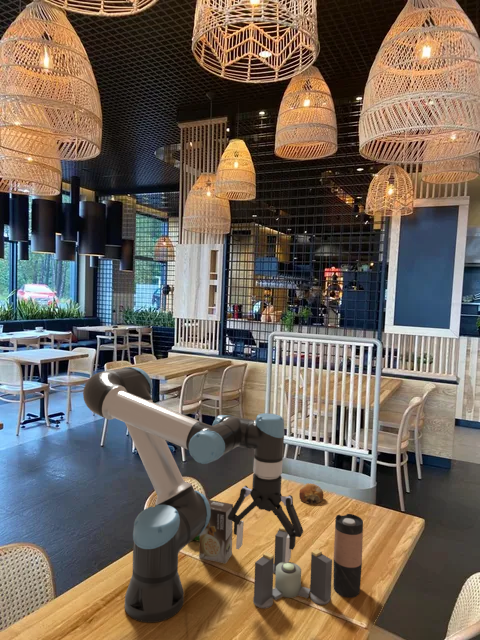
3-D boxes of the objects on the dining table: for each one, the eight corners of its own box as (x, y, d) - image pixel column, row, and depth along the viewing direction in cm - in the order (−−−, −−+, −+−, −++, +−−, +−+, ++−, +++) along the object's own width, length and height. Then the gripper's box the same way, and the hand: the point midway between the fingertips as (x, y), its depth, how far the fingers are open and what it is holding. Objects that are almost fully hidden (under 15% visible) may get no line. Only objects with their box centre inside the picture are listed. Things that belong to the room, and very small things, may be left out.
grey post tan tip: (334, 599, 119) (335, 556, 118) (320, 607, 116) (322, 562, 115) (319, 589, 123) (320, 547, 123) (306, 596, 120) (307, 553, 119)
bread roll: (324, 508, 183) (328, 488, 185) (316, 505, 175) (320, 484, 177) (302, 502, 188) (306, 482, 191) (293, 499, 180) (298, 479, 183)
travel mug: (355, 602, 118) (358, 529, 118) (328, 592, 122) (331, 521, 122) (364, 588, 125) (366, 517, 124) (337, 578, 129) (340, 510, 128)
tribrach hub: (274, 605, 116) (274, 580, 116) (259, 580, 127) (260, 557, 126) (313, 598, 120) (314, 573, 119) (296, 574, 130) (297, 551, 130)
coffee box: (232, 554, 140) (234, 503, 139) (225, 564, 134) (227, 512, 133) (206, 547, 143) (207, 498, 143) (197, 558, 137) (199, 506, 137)
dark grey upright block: (265, 611, 113) (267, 565, 113) (249, 602, 117) (250, 558, 116) (276, 601, 117) (278, 556, 117) (260, 592, 121) (262, 549, 120)
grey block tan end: (286, 577, 128) (287, 536, 128) (269, 572, 130) (270, 532, 130) (291, 567, 133) (292, 528, 133) (274, 563, 135) (276, 524, 135)
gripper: (317, 478, 115) (312, 558, 116) (229, 460, 124) (225, 535, 125) (311, 489, 108) (305, 574, 109) (218, 469, 117) (214, 548, 118)
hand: (263, 553), depth 117 cm, fingers open, 13 cm apart
